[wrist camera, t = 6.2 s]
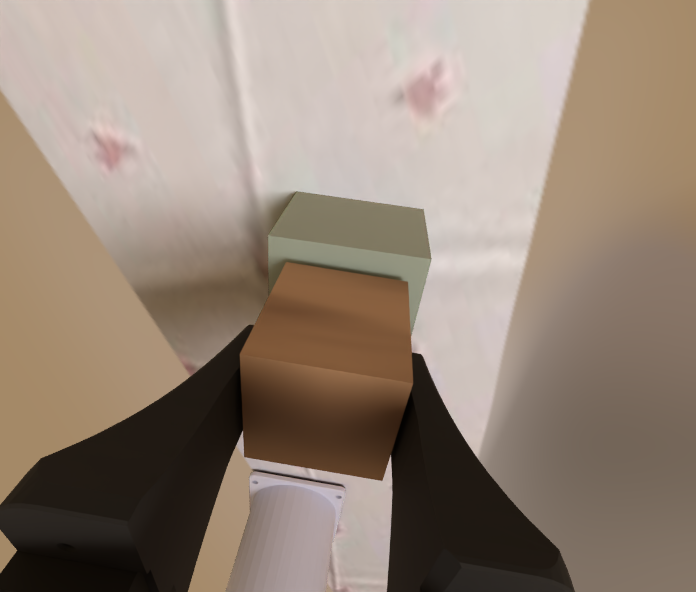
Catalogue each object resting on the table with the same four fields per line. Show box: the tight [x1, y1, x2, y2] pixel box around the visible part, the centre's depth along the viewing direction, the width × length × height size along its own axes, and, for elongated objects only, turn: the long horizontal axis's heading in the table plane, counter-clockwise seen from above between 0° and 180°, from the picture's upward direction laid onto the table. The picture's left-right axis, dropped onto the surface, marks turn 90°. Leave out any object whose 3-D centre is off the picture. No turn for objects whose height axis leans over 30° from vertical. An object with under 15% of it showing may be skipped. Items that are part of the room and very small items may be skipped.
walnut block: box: [240, 262, 413, 481], centre depth 13 cm, size 4×4×5 cm
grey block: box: [268, 192, 431, 335], centre depth 18 cm, size 6×6×5 cm
